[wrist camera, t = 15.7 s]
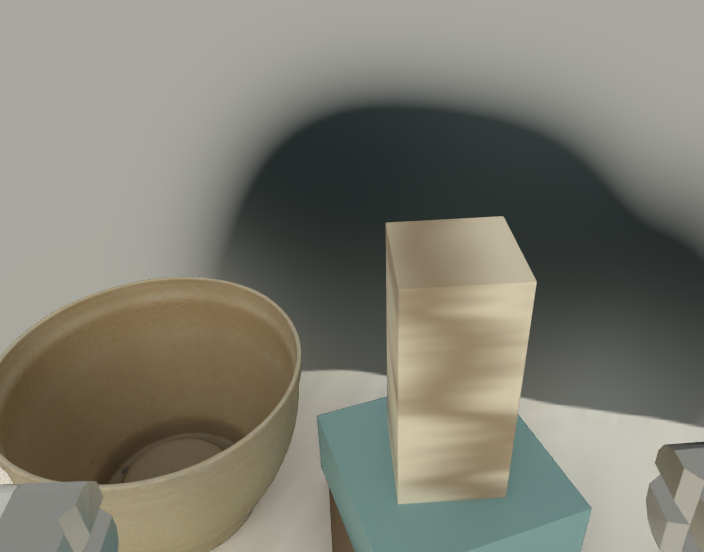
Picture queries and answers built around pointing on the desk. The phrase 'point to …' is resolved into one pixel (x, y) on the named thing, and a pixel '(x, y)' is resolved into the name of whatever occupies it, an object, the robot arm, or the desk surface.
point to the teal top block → (447, 516)
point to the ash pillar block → (454, 355)
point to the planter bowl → (156, 405)
